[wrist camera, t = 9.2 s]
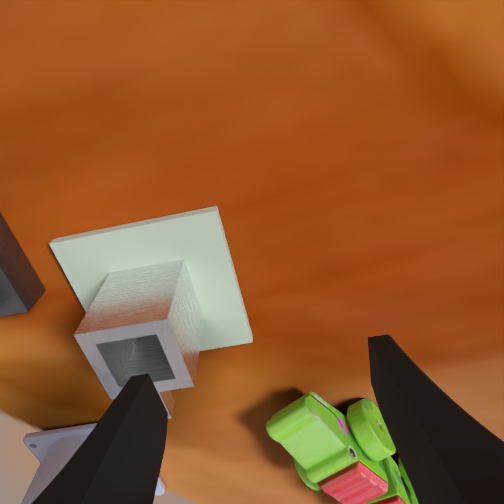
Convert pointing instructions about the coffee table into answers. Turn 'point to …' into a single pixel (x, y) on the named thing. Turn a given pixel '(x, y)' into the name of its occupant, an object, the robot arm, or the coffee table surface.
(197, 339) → the hollow square tube
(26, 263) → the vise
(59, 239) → the set down mat
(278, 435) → the toy crocodile
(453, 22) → the coffee table surface
